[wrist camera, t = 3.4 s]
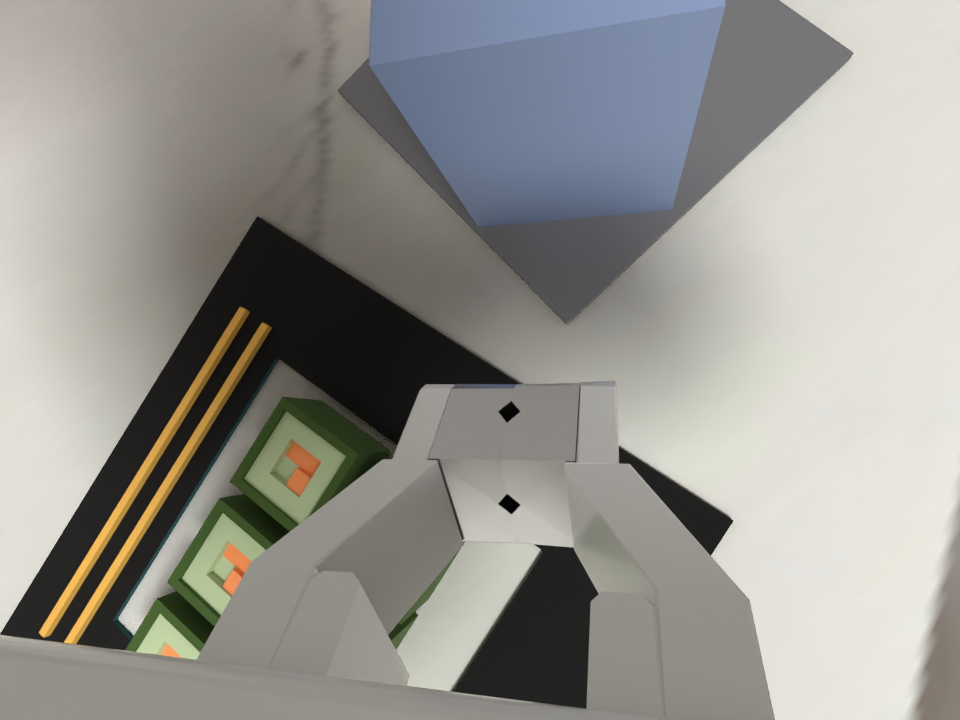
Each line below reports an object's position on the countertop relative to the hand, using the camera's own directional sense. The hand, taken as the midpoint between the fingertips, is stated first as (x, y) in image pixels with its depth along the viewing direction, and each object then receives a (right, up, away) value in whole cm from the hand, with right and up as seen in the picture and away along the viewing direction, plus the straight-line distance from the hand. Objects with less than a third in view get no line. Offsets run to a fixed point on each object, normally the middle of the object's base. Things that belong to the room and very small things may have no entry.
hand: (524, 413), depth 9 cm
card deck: (+3, +8, +14) cm, 17 cm away
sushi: (-8, -9, +16) cm, 20 cm away
